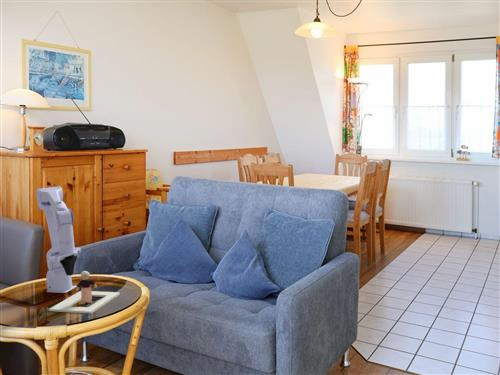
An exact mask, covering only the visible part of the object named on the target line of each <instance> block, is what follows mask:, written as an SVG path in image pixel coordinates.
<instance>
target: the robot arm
mask: <svg viewBox="0 0 500 375" xmlns="http://www.w3.org/2000/svg"><path fill="white" fill-rule="evenodd" d="M35 193H36V195H35V196H36V200H37V206H38V209H39V210H42V211H44V215H45V218H46V219H45V220H46V222H47V223H46V224H47V228H48V233H49V238H50V244H51V248H50V249H49V250H48V251H47V253H46V255H45V256H46V264H47V265H46V266H47V268H48V271H47V272H46V278H45V279H46V286H47V290H46V293H55V294H56V293H57V294H58V293H59V294H66V293H68V292H70V291H72V290H74V289H75V288H76V289H77V285H73V280H72V276H73V275H74V269H75V265H76V262H77V260H78V253H79V254H80V253H82V248H81V247H80V246H79V247H77V246H76V247H75V238H74V237H75V236H74V227H73V224H74V222H75V218H74V213H73V211H72V209H71V208H69V207H67V205H66V203H65V202H64V201H63V199H64V193H63V188H62V187H61V186H60V185H58V186H51V187H44V188H43V187H42V188H41V187H40V188H39V187H38V188H37V189H36V191H35Z"/></svg>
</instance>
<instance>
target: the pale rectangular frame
mask: <svg viewBox="0 0 500 375" xmlns="http://www.w3.org/2000/svg"><path fill="white" fill-rule="evenodd" d="M91 291H92V297H96V298H97V297H99V298H101V299H98V301H96V302H94V303H93V304H91V305H90V306H87V307H86V306H85V307H84V306H74V305H76V304H77V303H79V302H80V301H81V302H82V300H81V290H78V291H77V292H76V293H74V294H73V295H71V296H69V297H67V298H65V299H63V301H61V302H59V303H57V304H54V305H53V306H52V307H50V308H48V312H58V313H59V312H60V313H72V314H73V313H74V314H89V315H91V314H93V313H95V312H96V311H98V310H99V309H100V308H102V307H103V306H105V305H106V304H108V303H110V302H111V301H112V300H113V299H115V298H117V297H118V296H121V295H120V293H121V292H115V291H98V290H91Z"/></svg>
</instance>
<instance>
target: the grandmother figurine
mask: <svg viewBox="0 0 500 375" xmlns="http://www.w3.org/2000/svg"><path fill="white" fill-rule="evenodd" d="M80 276H81V280H80V281H79V282H78V283H77V285H76V286H77V287H76V289H75V291H76V292H79V291H81V302H80V305H86V303H87V304H92V303H93V301H92V300H93V296H92V291H93V290H92V287H91V286H93V287H94V288H95V289H96V288H98V285H97V284H96V282H95V280H92V279H89V277H90V276H91V274H90V272H89V271H86V270H83V271H81V273H80ZM80 288H81V290H80Z"/></svg>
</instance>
